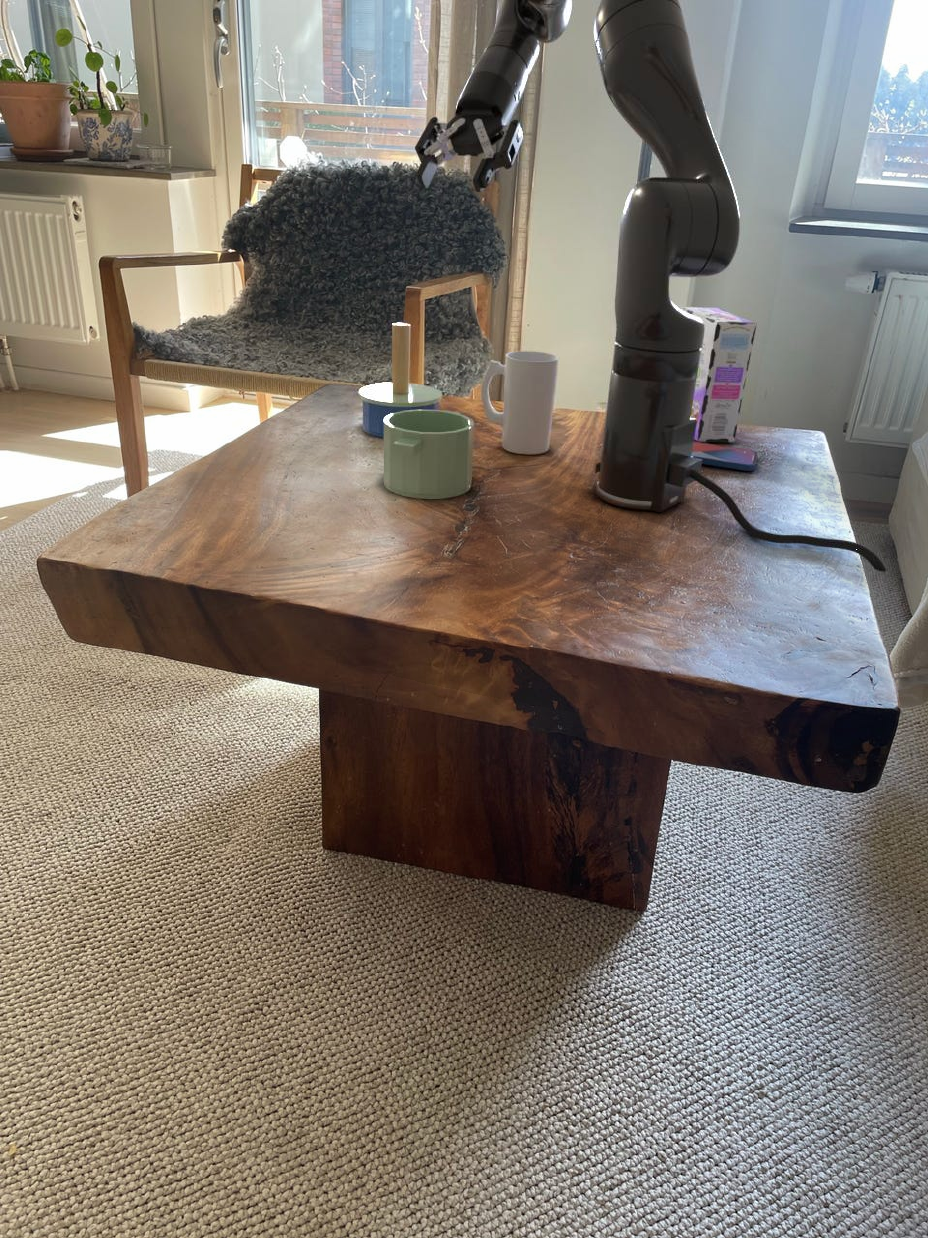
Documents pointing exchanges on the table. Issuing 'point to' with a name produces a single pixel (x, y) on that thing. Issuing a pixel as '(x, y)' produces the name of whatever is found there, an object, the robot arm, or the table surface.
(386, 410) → the pan
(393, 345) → the lid
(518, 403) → the mug
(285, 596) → the table surface
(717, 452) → the smartphone
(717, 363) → the candy box
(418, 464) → the pot
